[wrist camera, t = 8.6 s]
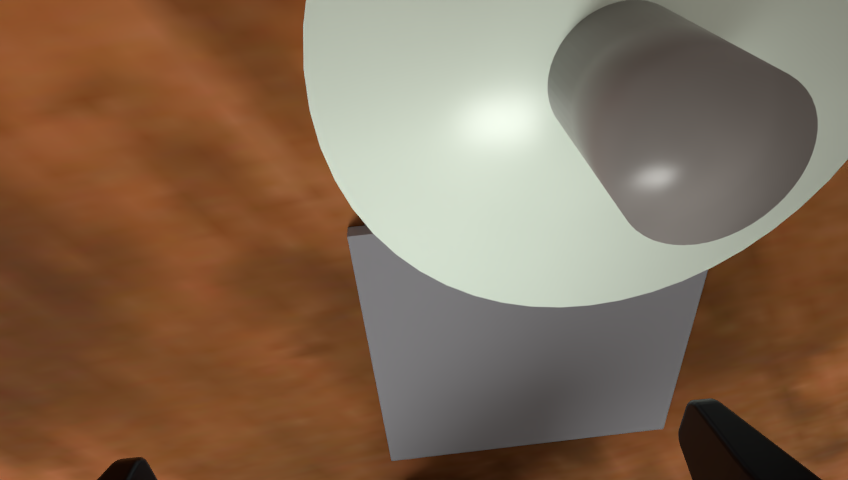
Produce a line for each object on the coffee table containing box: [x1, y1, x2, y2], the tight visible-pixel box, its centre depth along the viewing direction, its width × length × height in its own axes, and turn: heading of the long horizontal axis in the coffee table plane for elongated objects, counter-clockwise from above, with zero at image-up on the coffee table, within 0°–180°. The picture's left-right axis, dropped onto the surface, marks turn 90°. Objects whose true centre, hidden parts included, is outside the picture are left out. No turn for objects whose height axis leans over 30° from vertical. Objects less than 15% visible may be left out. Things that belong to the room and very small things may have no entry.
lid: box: [303, 0, 848, 307], centre depth 10 cm, size 13×13×5 cm
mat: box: [347, 225, 708, 461], centre depth 24 cm, size 14×14×1 cm
